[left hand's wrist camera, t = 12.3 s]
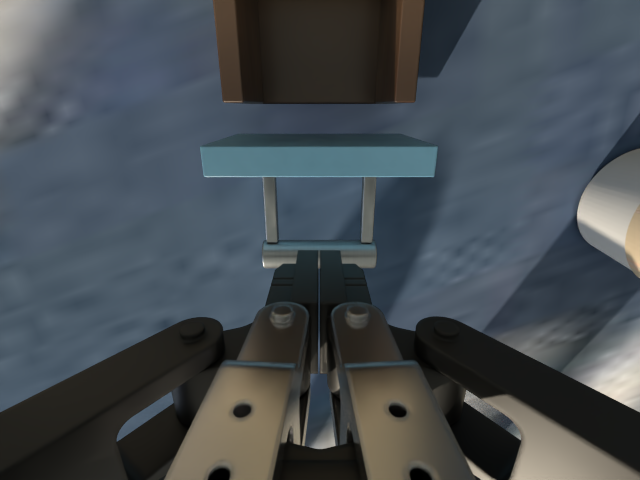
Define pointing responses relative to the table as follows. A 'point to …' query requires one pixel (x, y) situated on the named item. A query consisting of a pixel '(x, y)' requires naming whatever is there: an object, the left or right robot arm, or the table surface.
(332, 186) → the table surface
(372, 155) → the drawer
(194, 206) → the table surface
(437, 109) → the table surface
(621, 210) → the coffee cup
